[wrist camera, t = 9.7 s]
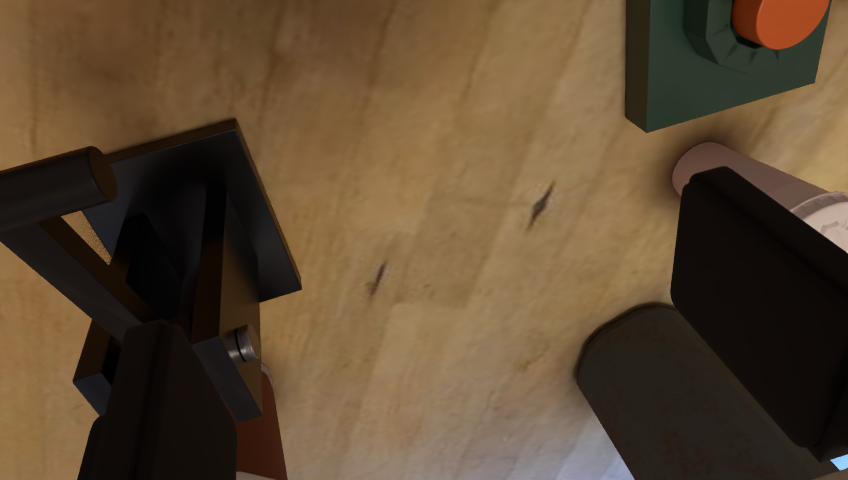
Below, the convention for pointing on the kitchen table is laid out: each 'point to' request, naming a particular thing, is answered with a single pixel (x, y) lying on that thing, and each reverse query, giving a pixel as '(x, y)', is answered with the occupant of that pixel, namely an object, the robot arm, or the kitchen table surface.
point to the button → (777, 20)
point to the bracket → (193, 257)
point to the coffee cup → (261, 440)
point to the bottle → (683, 407)
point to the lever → (70, 236)
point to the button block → (704, 62)
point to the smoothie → (772, 188)
